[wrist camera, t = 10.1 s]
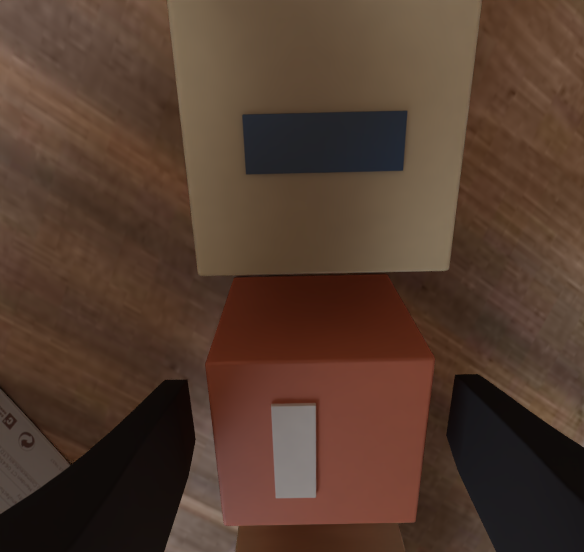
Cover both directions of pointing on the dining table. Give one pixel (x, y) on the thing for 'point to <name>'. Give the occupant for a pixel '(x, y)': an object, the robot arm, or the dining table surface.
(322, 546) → the beech block
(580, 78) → the dining table surface
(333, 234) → the beech block
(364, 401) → the terracotta block
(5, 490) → the white packaging box
